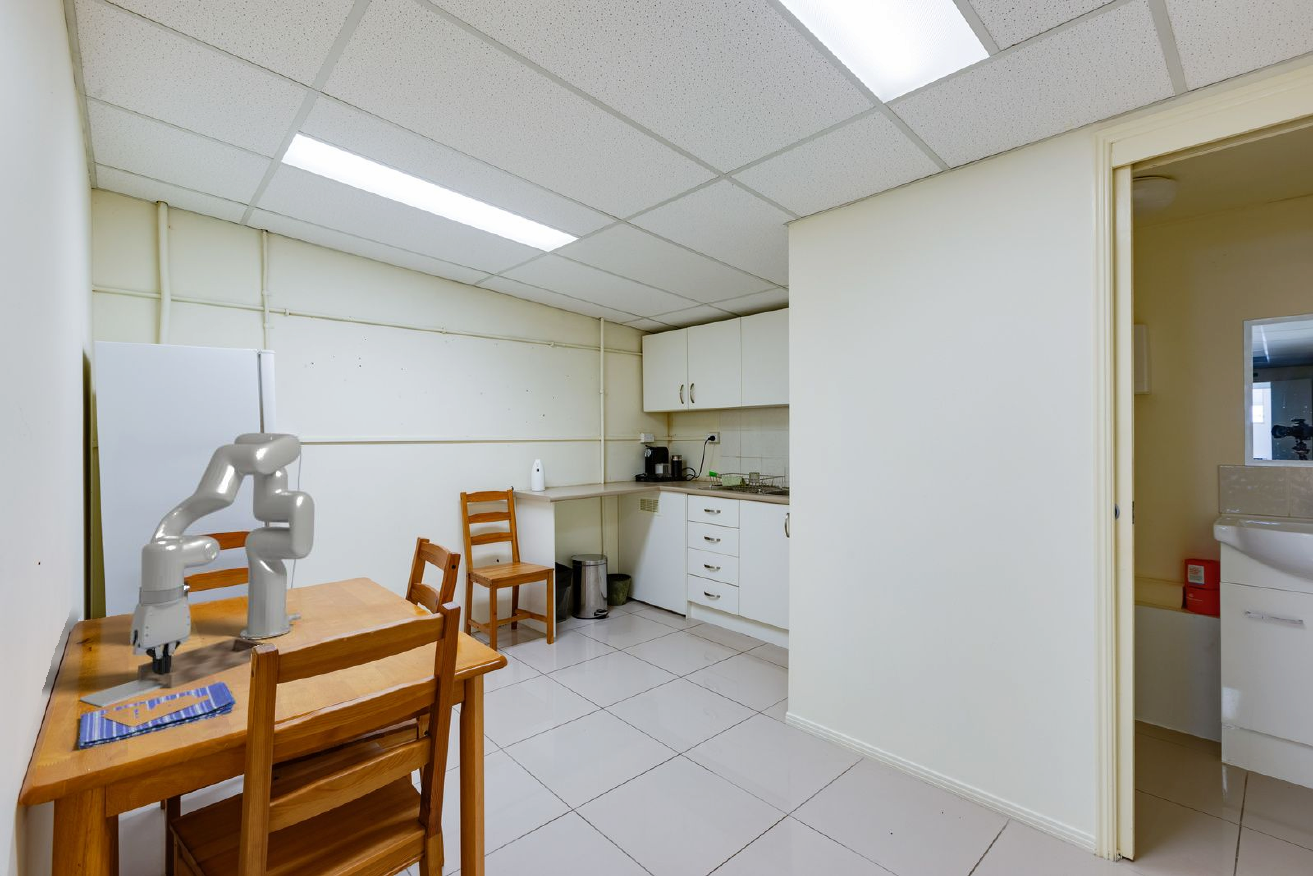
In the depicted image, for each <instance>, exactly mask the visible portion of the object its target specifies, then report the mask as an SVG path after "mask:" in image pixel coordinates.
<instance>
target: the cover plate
mask: <svg viewBox="0 0 1313 876" xmlns="http://www.w3.org/2000/svg"><path fill="white" fill-rule="evenodd" d="M164 687H165V686H164V684H162V683H159V682H155V681H151V680H148V679H144V678H142V679H138V678H137V679H135V680H133V681H129V682H126V683H123V684H120V685H116V686H112V687H110V688H106V689H104V690H101V691H97V692H93V693H91V694H88V695H84V696H82V697H80V702H83V703H87V704H91V705H94V706H97V707H100V708H104V707H108V706H111V705H113V704H117V703H120V702H124V701H126V700H129V699H132V698H135V697H138V696H142V695H144V694H147V693H150V692H152V691H153V692H154V691H156V690H159V689H162V688H164Z"/></svg>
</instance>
